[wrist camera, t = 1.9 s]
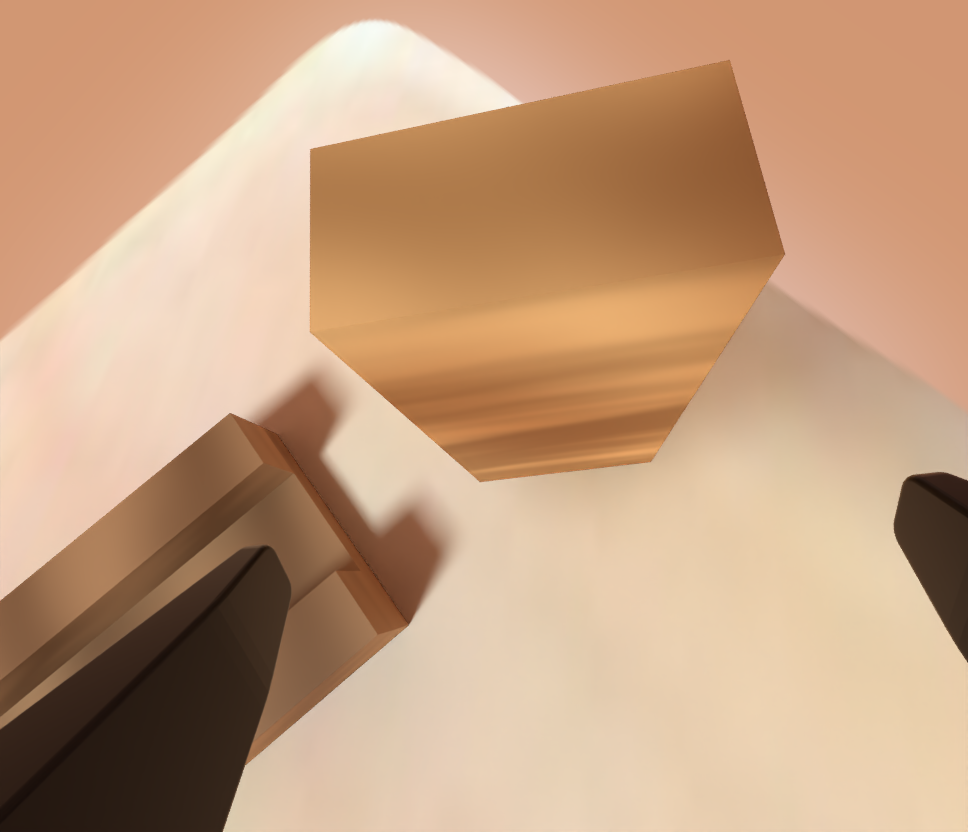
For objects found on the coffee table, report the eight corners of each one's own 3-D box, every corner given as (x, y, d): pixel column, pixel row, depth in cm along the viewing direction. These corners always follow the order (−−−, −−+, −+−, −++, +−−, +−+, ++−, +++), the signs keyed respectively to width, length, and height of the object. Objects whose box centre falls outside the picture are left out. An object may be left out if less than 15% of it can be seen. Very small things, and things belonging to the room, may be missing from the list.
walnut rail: (-66, 1032, 18) (-190, 1120, 15) (-139, 776, 21) (-255, 809, 18) (408, 625, 19) (377, 634, 16) (276, 434, 21) (230, 413, 19)
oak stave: (650, 461, 19) (785, 254, 6) (480, 482, 20) (310, 332, 7) (635, 380, 20) (729, 60, 7) (473, 402, 20) (310, 148, 8)
